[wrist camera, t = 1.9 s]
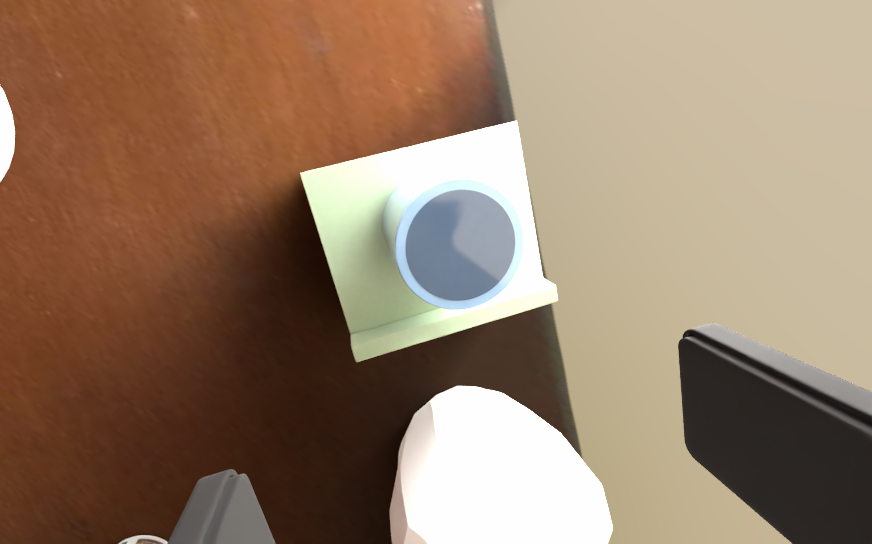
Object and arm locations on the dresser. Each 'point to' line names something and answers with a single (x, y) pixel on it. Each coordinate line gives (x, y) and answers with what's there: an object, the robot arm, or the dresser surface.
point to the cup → (453, 239)
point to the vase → (492, 477)
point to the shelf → (371, 260)
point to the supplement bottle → (144, 540)
